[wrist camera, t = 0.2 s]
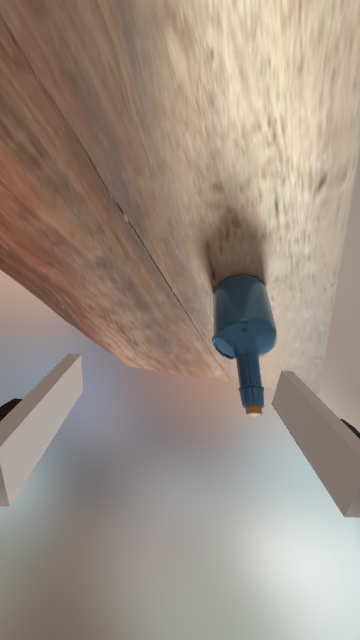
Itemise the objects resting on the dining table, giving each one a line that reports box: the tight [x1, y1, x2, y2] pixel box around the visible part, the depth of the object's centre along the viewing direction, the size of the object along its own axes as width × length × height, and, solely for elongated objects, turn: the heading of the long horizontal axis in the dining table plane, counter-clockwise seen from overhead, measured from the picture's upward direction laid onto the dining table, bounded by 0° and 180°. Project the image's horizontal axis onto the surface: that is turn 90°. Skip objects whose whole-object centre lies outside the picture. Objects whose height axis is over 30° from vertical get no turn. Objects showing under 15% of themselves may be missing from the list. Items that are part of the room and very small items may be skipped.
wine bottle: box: [212, 275, 277, 417], centre depth 45 cm, size 14×13×30 cm
